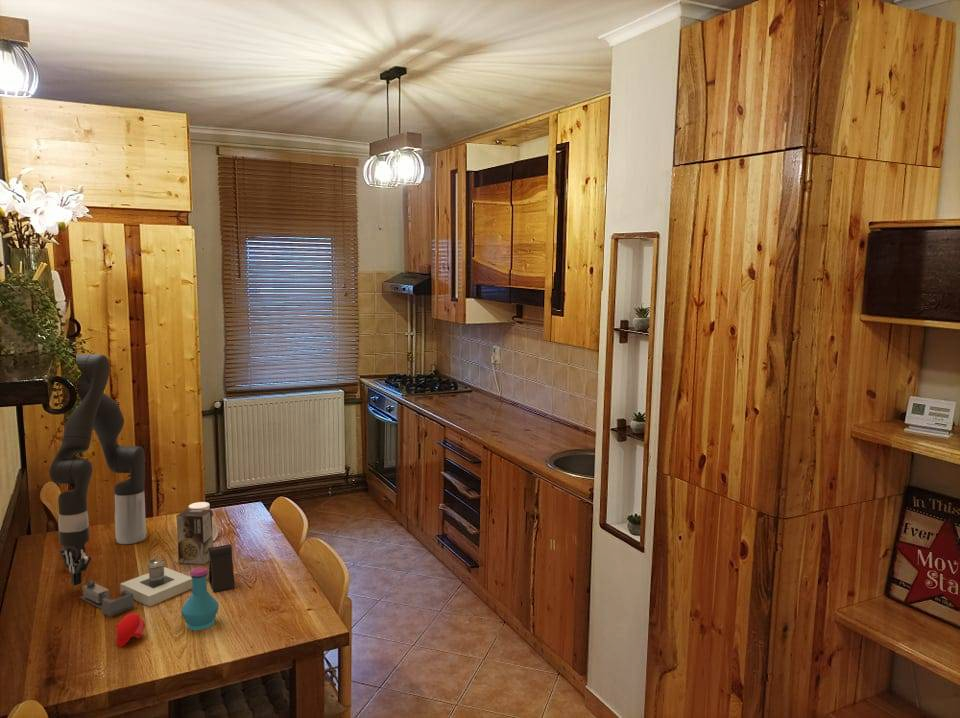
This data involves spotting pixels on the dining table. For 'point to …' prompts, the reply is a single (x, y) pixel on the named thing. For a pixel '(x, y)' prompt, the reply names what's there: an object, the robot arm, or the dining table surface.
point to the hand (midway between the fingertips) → (76, 583)
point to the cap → (129, 628)
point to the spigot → (156, 572)
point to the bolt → (95, 592)
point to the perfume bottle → (199, 603)
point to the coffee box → (194, 535)
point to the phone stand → (221, 568)
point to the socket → (151, 596)
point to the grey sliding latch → (114, 604)
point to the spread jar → (206, 507)
